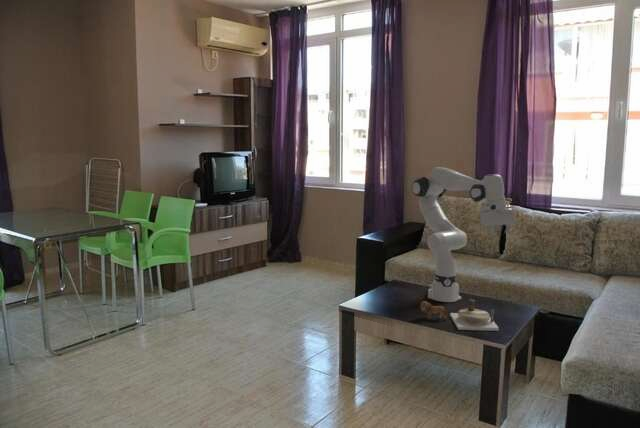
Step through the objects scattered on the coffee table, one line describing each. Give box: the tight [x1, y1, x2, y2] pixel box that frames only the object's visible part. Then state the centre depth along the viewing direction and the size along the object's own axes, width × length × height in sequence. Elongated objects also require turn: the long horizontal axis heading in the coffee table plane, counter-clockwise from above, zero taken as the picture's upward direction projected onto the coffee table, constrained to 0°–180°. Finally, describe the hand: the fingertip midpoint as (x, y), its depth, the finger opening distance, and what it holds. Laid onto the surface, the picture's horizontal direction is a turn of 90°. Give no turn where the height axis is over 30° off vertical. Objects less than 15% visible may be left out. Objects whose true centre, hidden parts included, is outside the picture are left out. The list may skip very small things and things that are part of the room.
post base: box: [449, 309, 500, 332], centre depth 254 cm, size 19×19×8 cm
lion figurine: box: [420, 301, 450, 321], centre depth 259 cm, size 15×5×9 cm, turn 90°
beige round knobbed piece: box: [457, 299, 491, 322], centre depth 255 cm, size 17×15×6 cm
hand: (500, 234), depth 251 cm, fingers open, 8 cm apart
